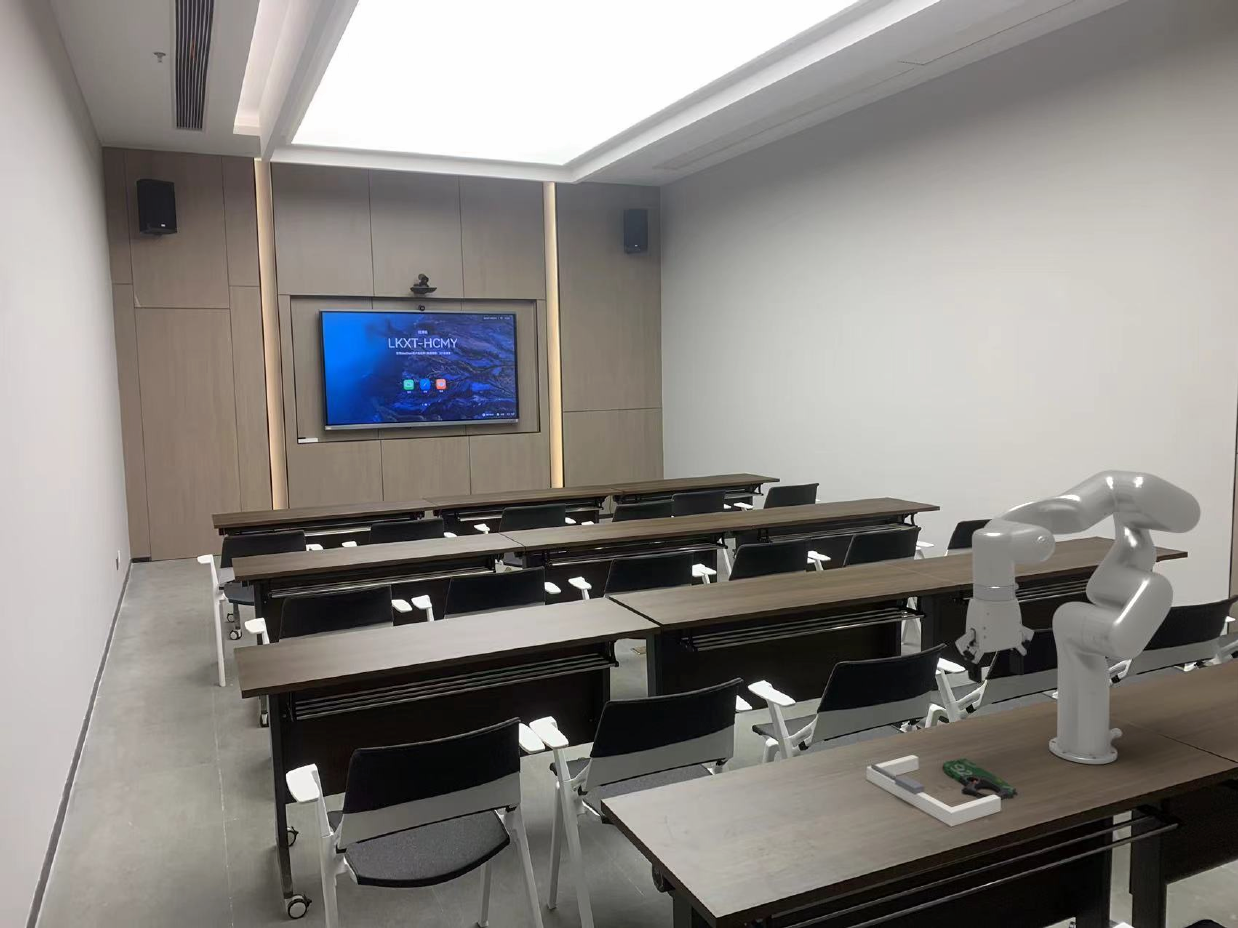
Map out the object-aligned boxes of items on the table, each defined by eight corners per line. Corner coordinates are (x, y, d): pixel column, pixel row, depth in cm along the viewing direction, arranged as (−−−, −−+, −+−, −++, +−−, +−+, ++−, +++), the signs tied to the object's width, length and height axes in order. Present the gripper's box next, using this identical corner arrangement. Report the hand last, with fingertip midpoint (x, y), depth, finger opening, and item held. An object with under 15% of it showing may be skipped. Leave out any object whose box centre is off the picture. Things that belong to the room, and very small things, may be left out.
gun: (926, 764, 180) (968, 757, 183) (926, 771, 180) (968, 764, 183) (978, 799, 165) (1024, 790, 167) (978, 806, 165) (1024, 798, 167)
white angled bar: (913, 766, 182) (912, 749, 181) (1000, 810, 162) (1000, 791, 162) (865, 779, 176) (864, 761, 176) (949, 827, 157) (949, 806, 156)
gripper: (1017, 582, 179) (1019, 665, 181) (943, 593, 174) (946, 678, 176) (1045, 590, 172) (1046, 676, 173) (968, 601, 167) (971, 690, 169)
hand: (996, 677), depth 175 cm, fingers open, 9 cm apart
